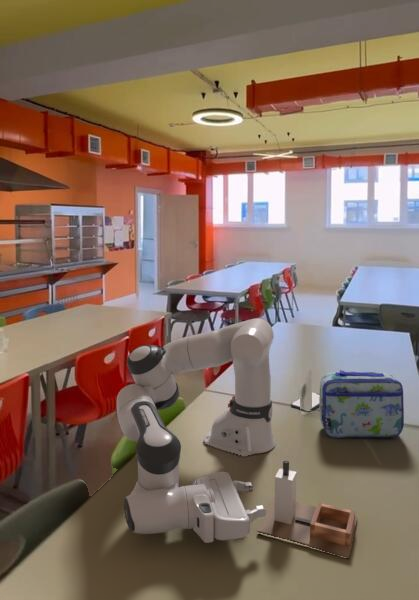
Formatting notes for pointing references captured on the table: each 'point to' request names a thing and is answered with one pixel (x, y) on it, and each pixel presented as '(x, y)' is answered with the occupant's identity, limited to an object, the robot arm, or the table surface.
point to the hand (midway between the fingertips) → (258, 498)
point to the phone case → (314, 402)
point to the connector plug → (285, 494)
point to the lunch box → (361, 404)
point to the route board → (315, 527)
